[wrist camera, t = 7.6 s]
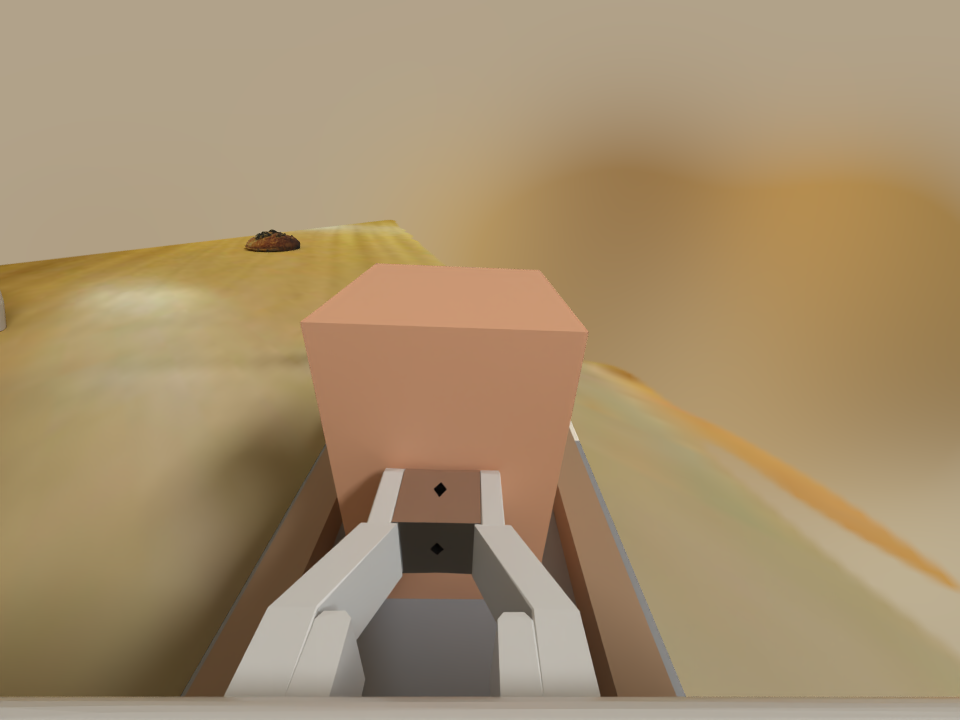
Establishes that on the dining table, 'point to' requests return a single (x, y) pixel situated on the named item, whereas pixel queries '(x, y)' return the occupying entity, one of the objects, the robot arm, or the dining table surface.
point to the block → (447, 390)
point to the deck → (460, 603)
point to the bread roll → (272, 242)
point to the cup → (2, 314)
